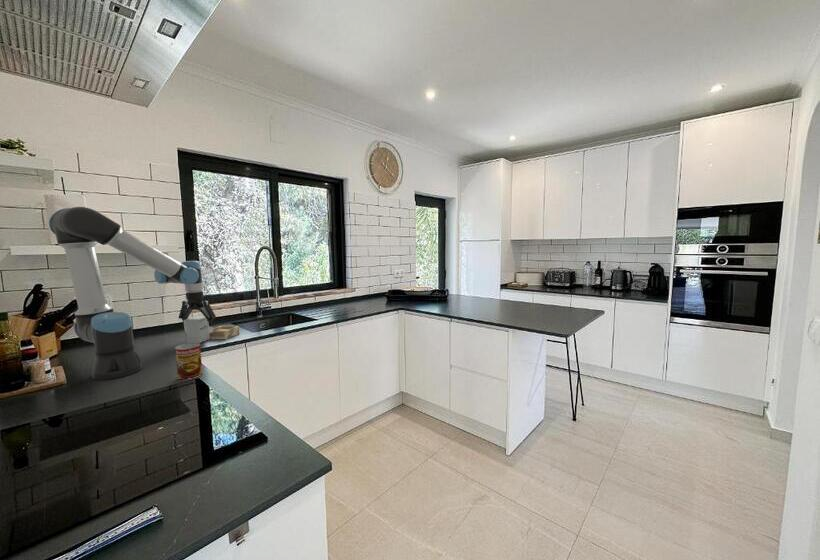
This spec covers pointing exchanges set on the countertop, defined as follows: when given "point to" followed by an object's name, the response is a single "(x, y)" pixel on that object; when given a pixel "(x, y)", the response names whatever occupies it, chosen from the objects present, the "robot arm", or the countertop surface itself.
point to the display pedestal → (224, 332)
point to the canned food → (188, 360)
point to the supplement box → (197, 329)
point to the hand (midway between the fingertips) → (198, 332)
